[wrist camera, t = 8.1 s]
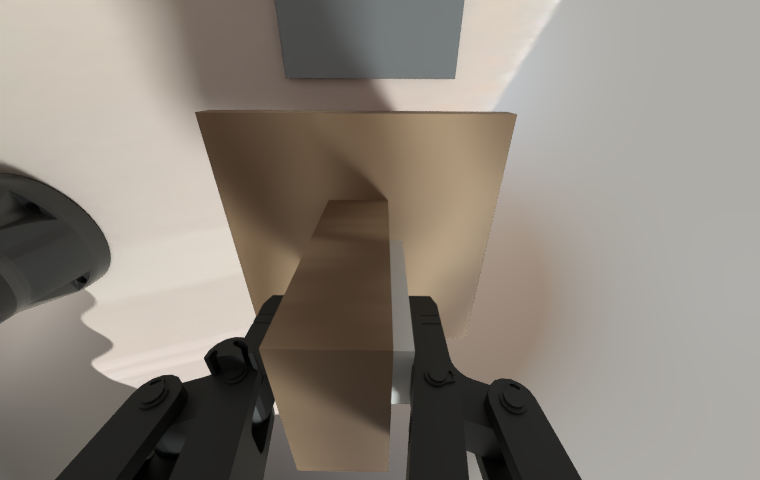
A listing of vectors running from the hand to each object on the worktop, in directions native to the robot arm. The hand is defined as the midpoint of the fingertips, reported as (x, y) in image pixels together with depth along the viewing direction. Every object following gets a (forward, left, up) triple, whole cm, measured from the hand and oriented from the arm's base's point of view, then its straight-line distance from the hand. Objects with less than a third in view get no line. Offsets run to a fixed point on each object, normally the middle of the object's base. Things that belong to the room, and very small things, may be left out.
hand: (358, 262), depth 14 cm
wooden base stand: (0, 0, -2) cm, 2 cm away
